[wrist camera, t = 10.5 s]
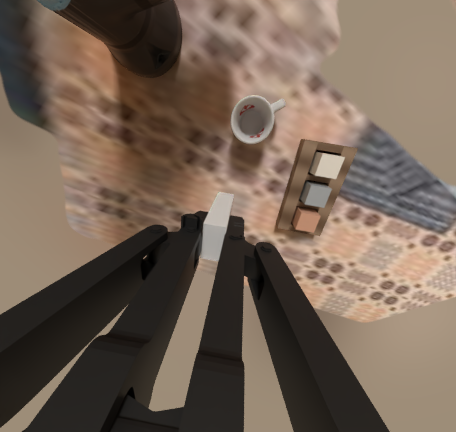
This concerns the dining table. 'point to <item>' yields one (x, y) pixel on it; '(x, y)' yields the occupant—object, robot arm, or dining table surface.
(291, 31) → the dining table surface
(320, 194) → the slate key
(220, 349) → the robot arm
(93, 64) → the dining table surface
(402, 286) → the dining table surface
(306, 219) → the terracotta key
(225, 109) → the dining table surface
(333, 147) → the key block
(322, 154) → the cream key
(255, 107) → the cup
